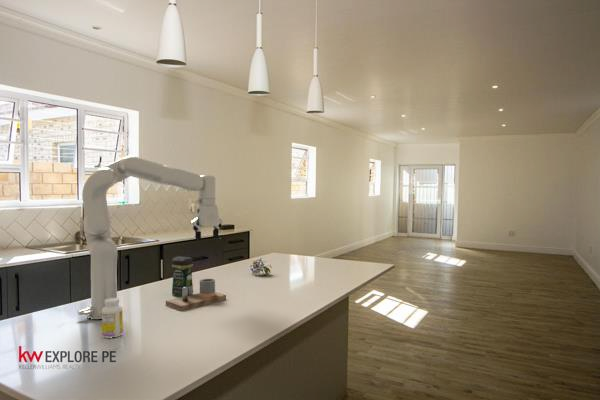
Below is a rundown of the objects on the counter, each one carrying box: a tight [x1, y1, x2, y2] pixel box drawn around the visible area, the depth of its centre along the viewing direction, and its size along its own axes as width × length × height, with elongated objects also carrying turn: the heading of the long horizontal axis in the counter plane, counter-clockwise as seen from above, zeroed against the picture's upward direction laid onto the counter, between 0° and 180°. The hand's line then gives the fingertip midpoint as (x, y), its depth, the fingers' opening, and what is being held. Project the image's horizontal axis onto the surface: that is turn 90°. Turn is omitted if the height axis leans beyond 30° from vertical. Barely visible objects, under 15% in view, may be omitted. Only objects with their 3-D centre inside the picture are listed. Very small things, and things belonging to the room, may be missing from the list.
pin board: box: [165, 291, 227, 312], centre depth 186 cm, size 24×12×2 cm, turn 139°
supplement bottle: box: [101, 297, 124, 339], centre depth 144 cm, size 7×7×13 cm
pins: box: [181, 287, 188, 301], centre depth 186 cm, size 14×2×6 cm, turn 139°
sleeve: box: [199, 278, 216, 297], centre depth 190 cm, size 7×7×7 cm
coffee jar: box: [171, 256, 194, 297], centre depth 199 cm, size 10×8×19 cm
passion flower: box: [247, 257, 273, 277], centre depth 244 cm, size 11×11×12 cm
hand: (207, 239), depth 190 cm, fingers open, 9 cm apart
